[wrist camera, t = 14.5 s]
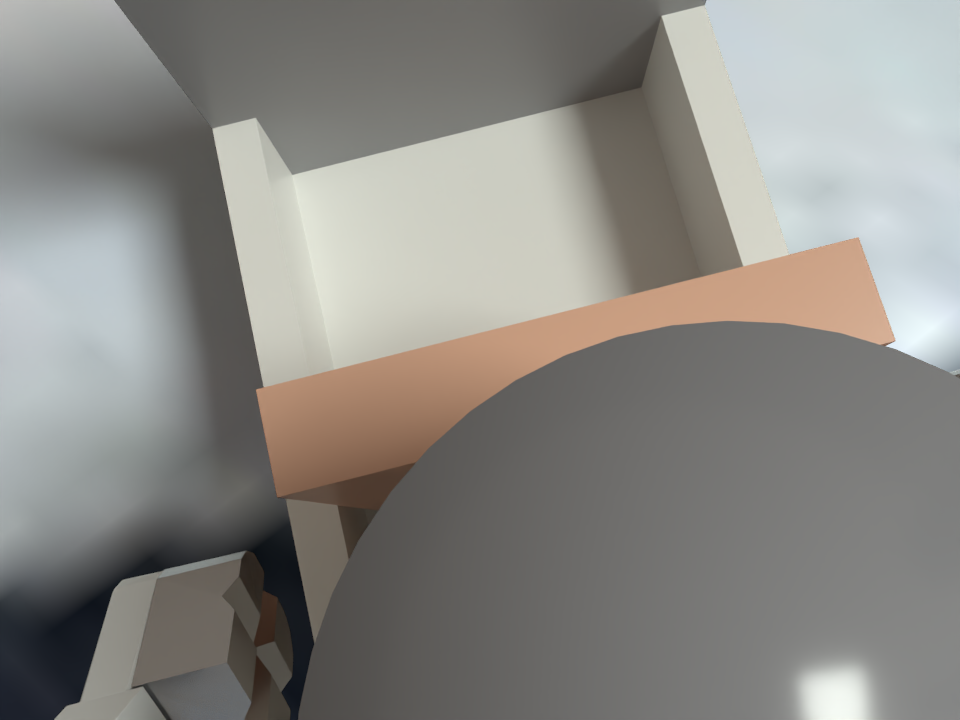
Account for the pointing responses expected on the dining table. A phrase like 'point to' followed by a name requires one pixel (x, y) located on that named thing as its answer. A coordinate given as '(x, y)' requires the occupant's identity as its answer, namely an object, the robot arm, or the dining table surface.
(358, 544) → the jar
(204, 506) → the dining table surface
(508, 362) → the spring pusher
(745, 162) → the pusher lane
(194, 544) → the dining table surface
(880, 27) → the dining table surface
